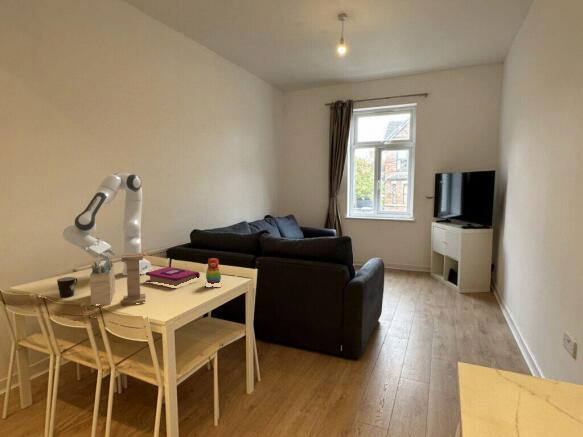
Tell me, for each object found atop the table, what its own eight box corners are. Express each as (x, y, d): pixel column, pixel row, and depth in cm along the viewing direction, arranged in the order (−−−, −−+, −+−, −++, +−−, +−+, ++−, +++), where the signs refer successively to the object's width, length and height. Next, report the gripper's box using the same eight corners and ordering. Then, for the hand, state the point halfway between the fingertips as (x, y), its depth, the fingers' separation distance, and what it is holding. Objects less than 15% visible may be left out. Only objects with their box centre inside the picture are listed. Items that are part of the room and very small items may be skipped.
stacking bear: (203, 288, 210) (203, 260, 208) (206, 283, 220) (205, 256, 218) (221, 287, 211) (221, 260, 209) (222, 283, 221) (222, 256, 219)
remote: (101, 263, 198) (101, 258, 198) (109, 263, 199) (109, 257, 199) (96, 273, 178) (95, 267, 177) (104, 272, 179) (104, 266, 179)
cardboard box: (97, 293, 196) (96, 259, 194) (114, 292, 200) (113, 258, 198) (91, 306, 176) (89, 268, 174) (110, 304, 180) (109, 266, 177)
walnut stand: (123, 299, 187) (122, 253, 185) (145, 297, 191) (144, 252, 189) (122, 306, 177) (120, 257, 175) (144, 303, 181) (143, 256, 179)
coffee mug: (62, 299, 186) (61, 282, 185) (55, 296, 190) (54, 279, 189) (84, 294, 195) (83, 277, 194) (77, 291, 200) (76, 275, 199)
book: (169, 275, 238) (169, 265, 237) (200, 281, 225) (199, 270, 225) (144, 283, 219) (144, 271, 219) (176, 289, 207) (175, 277, 206)
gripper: (85, 243, 192) (108, 255, 195) (100, 237, 212) (120, 248, 215) (79, 253, 193) (102, 264, 195) (94, 245, 213) (115, 256, 215)
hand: (111, 256), depth 205 cm, fingers open, 8 cm apart
